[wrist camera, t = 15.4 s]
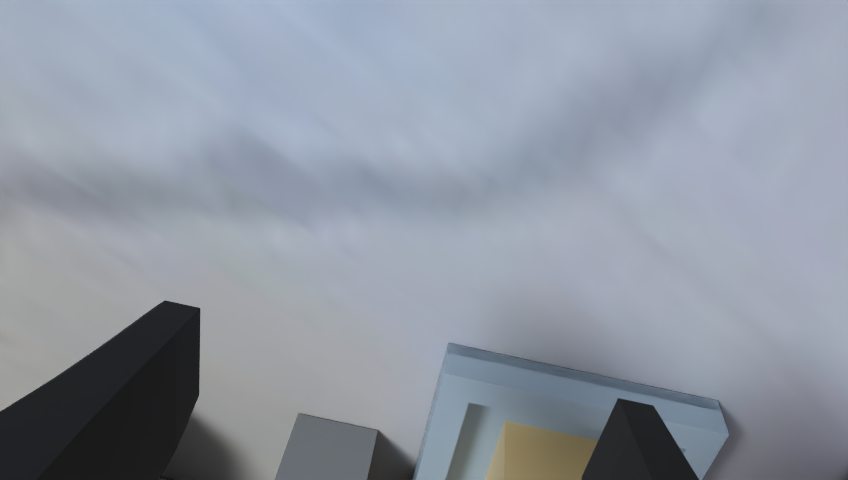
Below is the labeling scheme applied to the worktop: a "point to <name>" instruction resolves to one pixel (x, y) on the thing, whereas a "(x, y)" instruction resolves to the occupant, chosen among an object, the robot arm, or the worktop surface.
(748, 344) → the worktop surface
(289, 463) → the dock
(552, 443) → the tan block with handle
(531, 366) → the tray
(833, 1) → the worktop surface
